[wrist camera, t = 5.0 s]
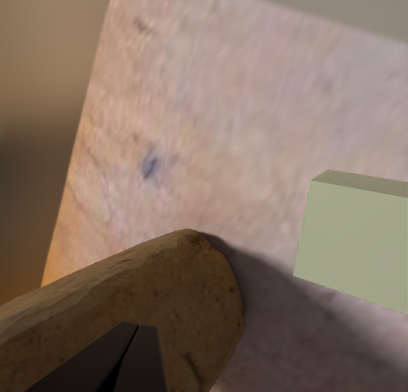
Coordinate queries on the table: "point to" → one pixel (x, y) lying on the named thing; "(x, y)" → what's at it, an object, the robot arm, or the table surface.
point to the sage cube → (356, 237)
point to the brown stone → (131, 312)
